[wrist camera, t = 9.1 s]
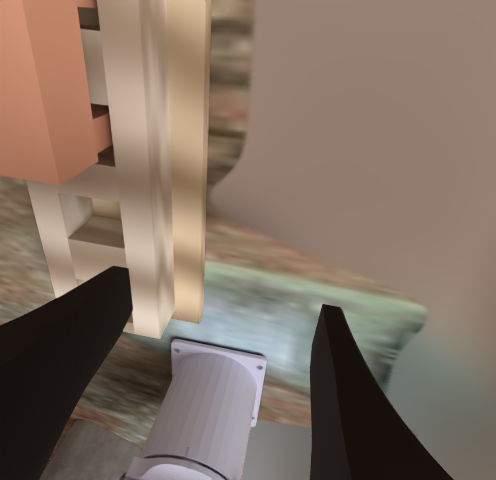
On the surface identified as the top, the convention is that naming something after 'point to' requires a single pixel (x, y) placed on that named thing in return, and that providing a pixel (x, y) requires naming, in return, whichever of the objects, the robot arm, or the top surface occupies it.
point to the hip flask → (90, 454)
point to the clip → (47, 93)
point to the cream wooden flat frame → (139, 162)
